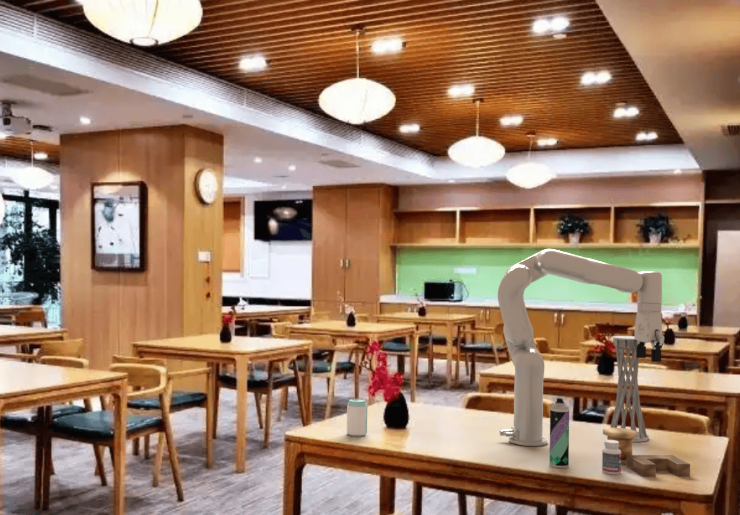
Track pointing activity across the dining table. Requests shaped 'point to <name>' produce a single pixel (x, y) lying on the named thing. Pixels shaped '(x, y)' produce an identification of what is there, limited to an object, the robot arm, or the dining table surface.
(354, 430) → the can
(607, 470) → the pill bottle
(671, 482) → the dining table surface
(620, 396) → the grey lattice tower
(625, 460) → the wooden spool
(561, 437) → the spray can
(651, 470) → the notched board
